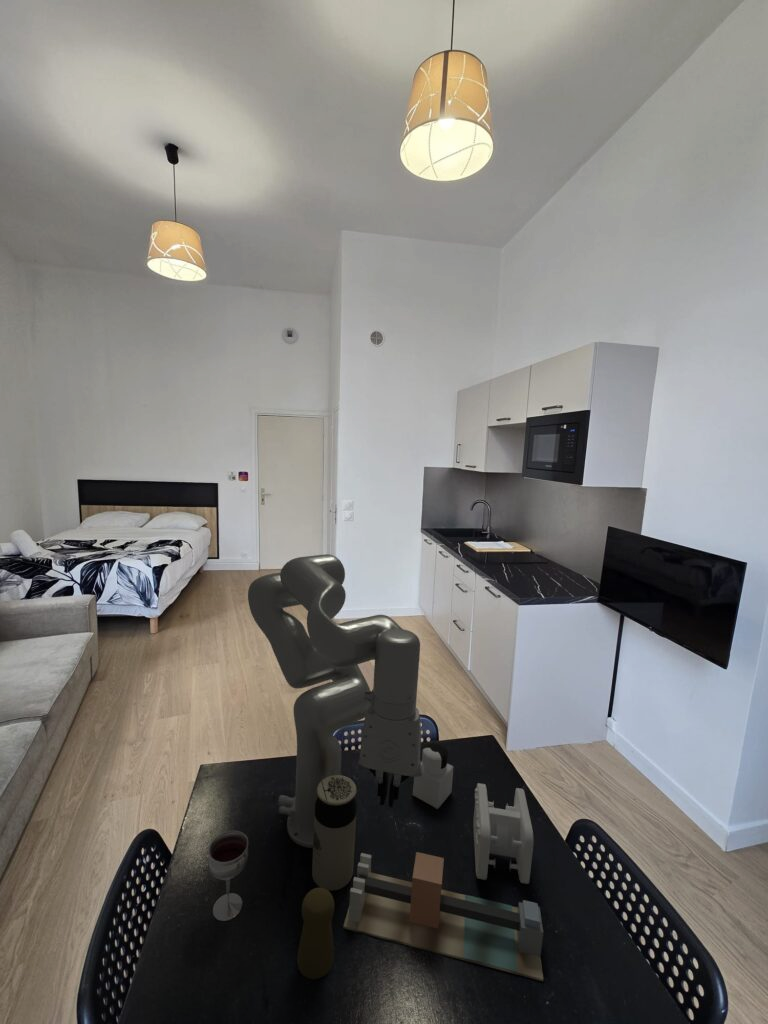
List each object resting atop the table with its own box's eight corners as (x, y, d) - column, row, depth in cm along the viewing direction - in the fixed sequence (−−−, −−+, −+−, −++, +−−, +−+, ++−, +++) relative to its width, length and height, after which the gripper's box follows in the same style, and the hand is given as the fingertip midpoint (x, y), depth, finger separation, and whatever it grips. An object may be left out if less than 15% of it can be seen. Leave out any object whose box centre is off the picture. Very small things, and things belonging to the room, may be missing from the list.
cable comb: (348, 921, 79) (349, 892, 78) (360, 878, 87) (361, 851, 86) (359, 924, 79) (360, 895, 78) (370, 880, 87) (371, 854, 86)
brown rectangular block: (409, 921, 78) (412, 877, 77) (413, 893, 84) (416, 851, 82) (437, 928, 78) (441, 884, 76) (440, 900, 83) (443, 858, 81)
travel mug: (350, 852, 93) (355, 772, 90) (355, 889, 85) (360, 802, 83) (311, 856, 91) (315, 775, 89) (312, 894, 83) (316, 806, 81)
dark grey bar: (356, 890, 82) (357, 882, 82) (358, 882, 83) (359, 874, 83) (528, 933, 76) (529, 924, 76) (527, 923, 78) (528, 915, 78)
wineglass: (204, 929, 76) (205, 866, 75) (210, 891, 83) (210, 832, 81) (246, 922, 78) (247, 860, 76) (248, 885, 84) (250, 827, 83)
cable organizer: (530, 896, 86) (536, 841, 84) (473, 886, 87) (478, 831, 86) (518, 832, 100) (523, 784, 99) (470, 824, 102) (474, 777, 100)
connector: (518, 953, 75) (521, 920, 75) (516, 926, 80) (519, 895, 79) (540, 959, 75) (544, 926, 74) (536, 932, 79) (540, 900, 78)
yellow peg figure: (301, 986, 69) (304, 923, 68) (293, 946, 75) (295, 887, 73) (339, 970, 72) (342, 909, 70) (328, 932, 77) (331, 875, 76)
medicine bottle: (426, 779, 115) (430, 735, 114) (451, 792, 111) (455, 747, 110) (411, 795, 109) (415, 749, 108) (437, 810, 105) (441, 762, 104)
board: (343, 928, 78) (343, 925, 78) (359, 871, 89) (359, 869, 89) (543, 981, 72) (543, 978, 72) (534, 913, 82) (534, 911, 82)
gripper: (344, 707, 75) (339, 807, 77) (437, 722, 72) (429, 826, 74) (356, 685, 82) (351, 777, 85) (440, 698, 79) (433, 793, 82)
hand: (387, 799), depth 80 cm, fingers closed
